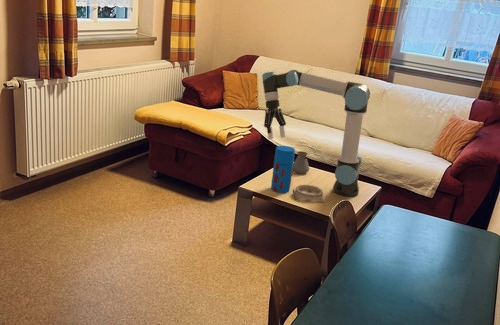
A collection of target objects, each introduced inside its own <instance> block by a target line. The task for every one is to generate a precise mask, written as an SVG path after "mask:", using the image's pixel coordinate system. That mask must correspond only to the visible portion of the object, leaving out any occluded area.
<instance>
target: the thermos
mask: <svg viewBox="0 0 500 325" xmlns="http://www.w3.org/2000/svg"><path fill="white" fill-rule="evenodd" d="M295 149H296V148H294V147H292V146H288V145H278V146H276V148H275V154H274V160H273V169H272V177H271V186H270V188H271V191H272V192H275V193H278V194H286V193H287V194H288V193H289V192H290V190H291V182H292V176H293V163H294V161H295V155H296V153H295V152H296V150H295Z"/></svg>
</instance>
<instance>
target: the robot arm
mask: <svg viewBox="0 0 500 325" xmlns="http://www.w3.org/2000/svg"><path fill="white" fill-rule="evenodd" d="M261 76H262V84H263V85H262V86H263V93H264V98H265V100H264V101H265V107H266V109H265V113H264V114H265V115H264V123H263V126H264V128H266V130H267V138H268V140H273V139H274V132H273V127H272V123H273V119H274V118H275V119H276V122H277V123H278V125H279V127H278V129H279V136H280V138H286V131H285V126H286V125H287V122H286V120H285V117H284V114H283V112H282V108H279V107H280V101H279V92H278V89H283V88H288V87H293V86H299V87H303V88H308V89H312V90H315V91H321V92H325V93H329V94H332V95H337V96H341V97H342V98H343V99H344V112H345V113H346V116H345V123H344V132H343V140H342V148H341V155H340V156H338V157H337V164H336V169H335V171H334V177H335V179H336V180H335V182H334V183H333V185H332V191H333V193H335V194H338V195H341V196H343V197H344V196H345V197H356V196H358V195H359V192H360V188H359V187H360V186H359V181H358V180H359V175H360V169H361V164H362V157H361V155H358V152H359V145H360V140H361V139H360V138H361V132H362V124H363V118H364V117H363V116H364V115H365V114H366V113H367V108H368V104H369V100H370V97H371V91H370V89H369V87H368V86H367V85H366V84H363V83H360V82H353V81H349V80H348V81H346V82H345V81H342V80H341V81H340V80H336V79H330V78H327V77H323V76H319V75H313V74H309V73H307V72H306V73H305V72H301V71H298V70H297V69H291V70H289V71H287V72H285V73H280V74H279V73H278V74H276V72H275V71H267V72H264V73H263V74H262V75H261Z"/></svg>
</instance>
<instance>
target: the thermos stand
mask: <svg viewBox="0 0 500 325" xmlns="http://www.w3.org/2000/svg"><path fill="white" fill-rule="evenodd" d="M293 193H294V200H295V201H301V202H312V203H318V204H319V203H322V204H324V203H325V199H324V196H323V194H324V191H323V189H321V188H320V187H319V186H316V185H313V184H299V185H297V186H296V187H294V188H293Z"/></svg>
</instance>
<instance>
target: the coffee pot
mask: <svg viewBox="0 0 500 325" xmlns="http://www.w3.org/2000/svg"><path fill="white" fill-rule="evenodd" d="M296 154H297V156H296V158H295V159H294V162H293V169H292V172H294V173H296V174H299V175H303V174H306V173H308V172H309V170H310V166H309V162H308V161H309V157H308V156H307V155H308V152H305V151H297V152H296Z"/></svg>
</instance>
